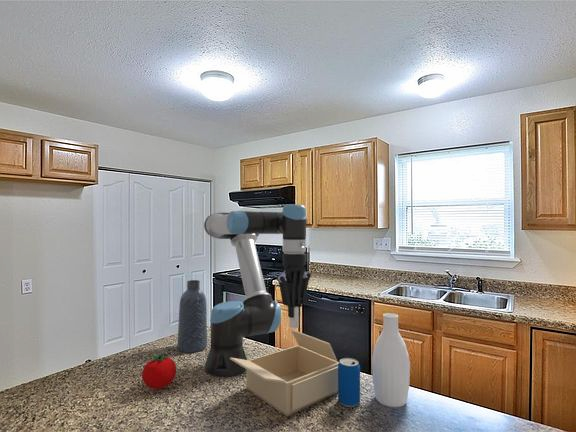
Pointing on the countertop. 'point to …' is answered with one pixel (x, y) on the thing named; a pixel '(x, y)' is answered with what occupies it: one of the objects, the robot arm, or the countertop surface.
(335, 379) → the carton
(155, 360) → the tomato
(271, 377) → the flap
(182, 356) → the countertop surface
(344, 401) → the beverage can
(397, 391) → the bottle
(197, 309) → the vase
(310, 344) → the flap
